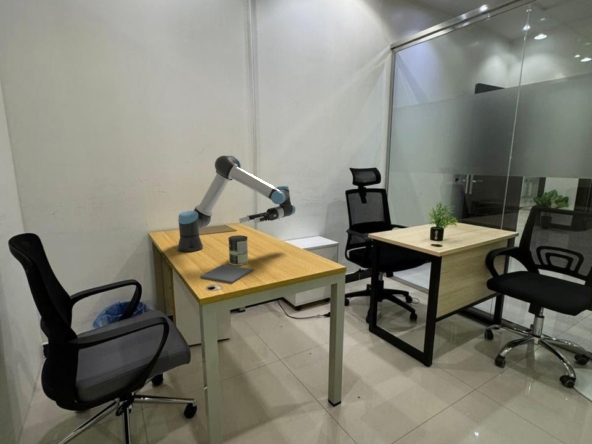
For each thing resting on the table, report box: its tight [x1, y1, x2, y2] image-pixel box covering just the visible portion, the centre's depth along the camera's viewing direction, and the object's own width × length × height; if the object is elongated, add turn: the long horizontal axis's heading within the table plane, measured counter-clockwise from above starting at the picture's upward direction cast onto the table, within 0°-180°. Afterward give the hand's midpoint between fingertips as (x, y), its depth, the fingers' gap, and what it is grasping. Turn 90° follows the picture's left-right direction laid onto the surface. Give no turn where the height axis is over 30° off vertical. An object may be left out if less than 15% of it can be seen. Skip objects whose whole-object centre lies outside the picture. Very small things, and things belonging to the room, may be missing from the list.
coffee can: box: [227, 234, 249, 266], centre depth 170 cm, size 10×10×14 cm
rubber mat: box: [200, 264, 254, 284], centre depth 153 cm, size 18×18×1 cm
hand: (247, 220), depth 175 cm, fingers open, 13 cm apart
